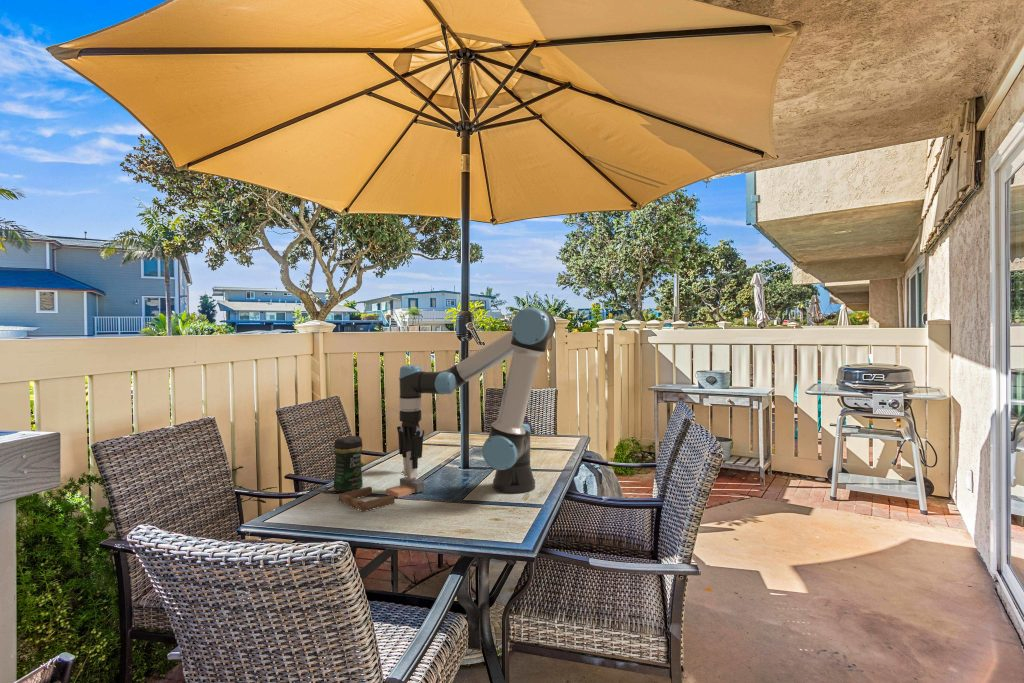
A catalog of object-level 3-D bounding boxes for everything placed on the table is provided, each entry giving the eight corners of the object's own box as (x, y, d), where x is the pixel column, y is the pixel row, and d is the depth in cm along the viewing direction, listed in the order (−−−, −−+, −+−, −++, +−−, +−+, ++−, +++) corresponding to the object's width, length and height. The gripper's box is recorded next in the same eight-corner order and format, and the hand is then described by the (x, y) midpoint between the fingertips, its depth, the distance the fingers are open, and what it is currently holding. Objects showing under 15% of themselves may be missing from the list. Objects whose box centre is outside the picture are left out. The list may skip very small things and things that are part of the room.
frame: (394, 503, 178) (394, 495, 177) (362, 511, 169) (362, 503, 169) (369, 493, 188) (369, 486, 188) (338, 501, 180) (338, 493, 180)
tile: (415, 494, 188) (415, 488, 188) (398, 498, 183) (398, 492, 183) (402, 490, 193) (402, 484, 193) (386, 494, 188) (386, 488, 188)
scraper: (424, 490, 190) (422, 453, 189) (417, 492, 187) (415, 455, 187) (406, 484, 196) (405, 449, 196) (400, 486, 194) (398, 450, 193)
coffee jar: (344, 494, 188) (344, 440, 187) (330, 490, 192) (329, 437, 192) (366, 487, 196) (366, 435, 195) (352, 483, 200) (351, 433, 200)
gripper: (432, 411, 188) (432, 478, 188) (406, 406, 199) (406, 470, 200) (414, 413, 183) (414, 483, 183) (388, 408, 194) (388, 474, 194)
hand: (410, 476), depth 191 cm, fingers closed on scraper, 3 cm apart
